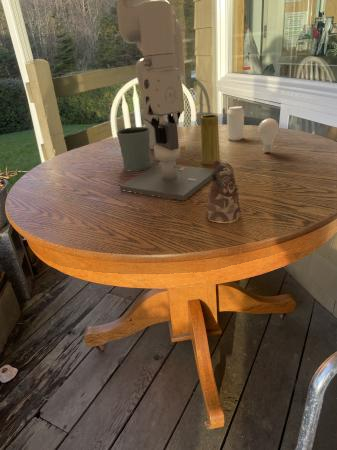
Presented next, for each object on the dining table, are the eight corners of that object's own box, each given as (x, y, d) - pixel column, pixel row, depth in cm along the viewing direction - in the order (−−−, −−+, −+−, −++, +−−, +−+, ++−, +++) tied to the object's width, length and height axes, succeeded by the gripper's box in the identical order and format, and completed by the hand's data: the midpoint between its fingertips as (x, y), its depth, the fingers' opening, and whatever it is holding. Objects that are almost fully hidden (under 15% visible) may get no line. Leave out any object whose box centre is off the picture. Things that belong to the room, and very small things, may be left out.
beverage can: (227, 137, 129) (227, 106, 124) (243, 136, 128) (243, 105, 122) (227, 141, 124) (227, 109, 118) (244, 140, 123) (244, 107, 117)
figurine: (217, 227, 65) (216, 171, 59) (200, 214, 71) (198, 161, 65) (246, 218, 67) (248, 163, 62) (228, 206, 73) (228, 155, 68)
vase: (224, 160, 103) (223, 114, 97) (212, 166, 100) (211, 118, 93) (208, 158, 107) (207, 113, 100) (197, 163, 103) (194, 117, 97)
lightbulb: (275, 149, 109) (277, 115, 104) (279, 154, 103) (281, 119, 98) (256, 150, 110) (257, 117, 105) (258, 156, 104) (260, 121, 99)
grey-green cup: (116, 169, 106) (110, 132, 100) (139, 160, 112) (134, 125, 107) (137, 174, 100) (131, 135, 94) (159, 164, 106) (155, 127, 100)
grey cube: (163, 163, 82) (159, 127, 78) (149, 156, 89) (145, 123, 85) (192, 156, 85) (190, 121, 81) (176, 150, 92) (174, 117, 88)
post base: (120, 190, 88) (116, 166, 85) (160, 168, 103) (157, 146, 99) (183, 201, 78) (181, 173, 75) (217, 174, 93) (217, 150, 89)
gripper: (143, 65, 69) (153, 150, 77) (194, 60, 79) (198, 135, 87) (122, 67, 74) (133, 147, 82) (173, 62, 84) (178, 133, 92)
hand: (167, 140), depth 84 cm, fingers closed on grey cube, 3 cm apart
